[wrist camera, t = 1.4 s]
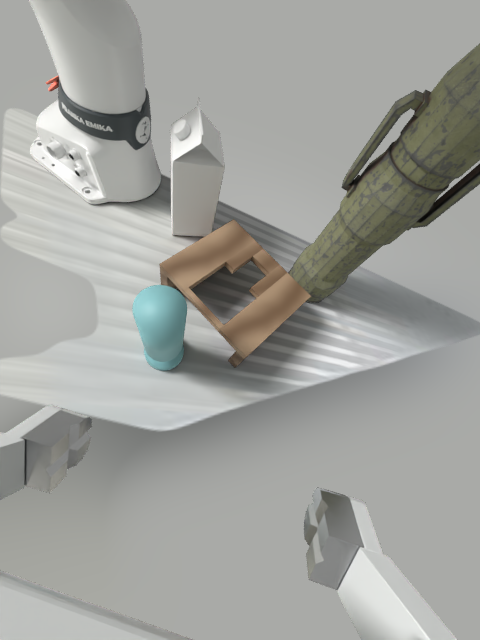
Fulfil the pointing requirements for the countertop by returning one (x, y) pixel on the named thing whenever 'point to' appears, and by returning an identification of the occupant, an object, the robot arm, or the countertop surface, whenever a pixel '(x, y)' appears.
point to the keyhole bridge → (232, 252)
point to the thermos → (401, 179)
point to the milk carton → (195, 173)
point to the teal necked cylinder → (161, 325)
